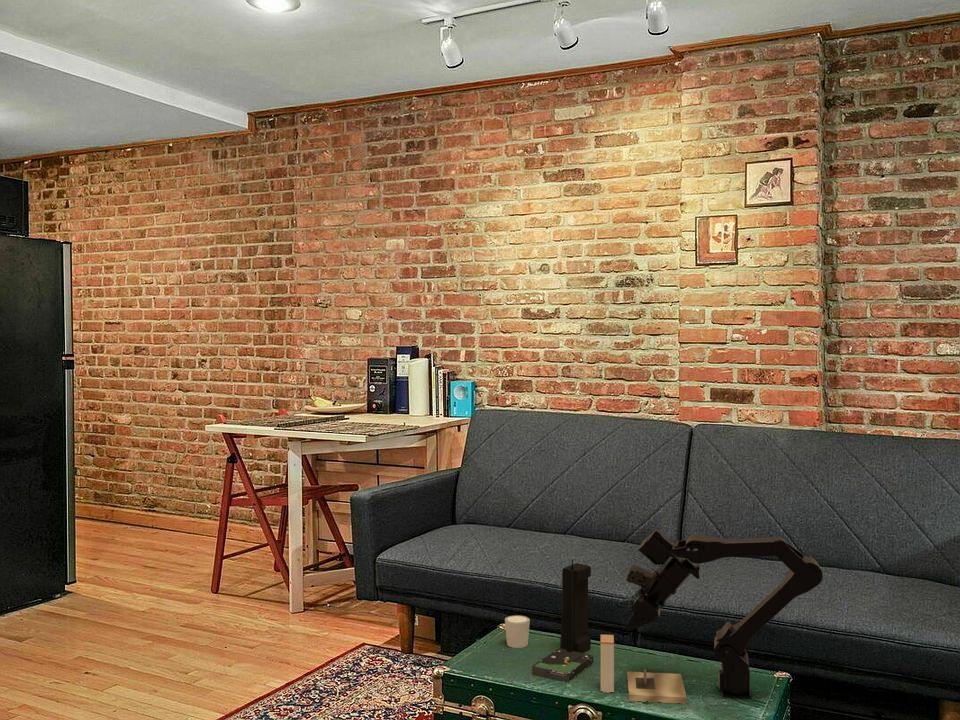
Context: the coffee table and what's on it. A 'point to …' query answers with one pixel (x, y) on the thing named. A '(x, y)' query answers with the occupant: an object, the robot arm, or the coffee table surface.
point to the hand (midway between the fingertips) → (628, 623)
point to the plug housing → (607, 663)
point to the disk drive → (562, 665)
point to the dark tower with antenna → (575, 608)
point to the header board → (656, 687)
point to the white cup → (517, 631)
